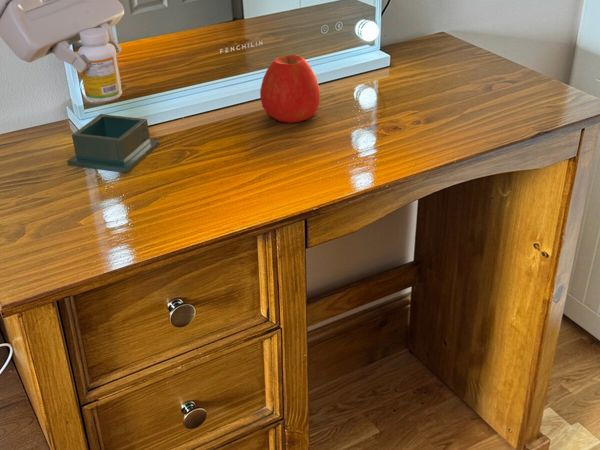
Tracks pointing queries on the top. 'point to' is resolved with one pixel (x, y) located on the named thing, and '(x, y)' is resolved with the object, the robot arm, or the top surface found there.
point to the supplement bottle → (100, 66)
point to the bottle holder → (112, 143)
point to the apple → (290, 90)
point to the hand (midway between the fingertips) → (101, 61)
